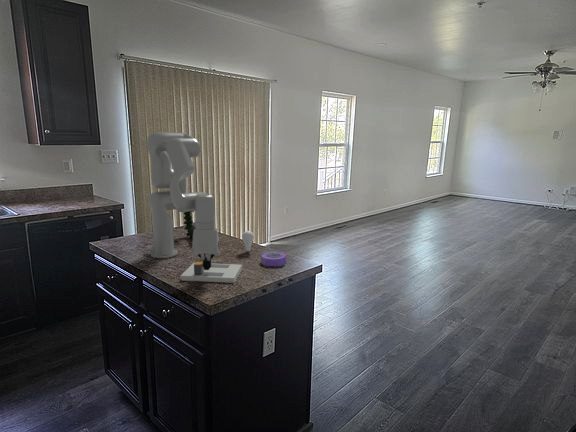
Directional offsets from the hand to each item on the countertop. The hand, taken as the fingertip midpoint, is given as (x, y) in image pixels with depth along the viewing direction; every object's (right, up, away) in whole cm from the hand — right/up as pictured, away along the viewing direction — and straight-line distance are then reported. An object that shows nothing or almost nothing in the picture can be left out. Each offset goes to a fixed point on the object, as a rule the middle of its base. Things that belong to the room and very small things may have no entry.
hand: (207, 269), depth 148 cm
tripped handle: (-4, -2, +1) cm, 4 cm away
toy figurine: (-18, +8, +58) cm, 61 cm away
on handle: (-2, 0, +10) cm, 11 cm away
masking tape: (+26, -1, +22) cm, 35 cm away
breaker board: (+1, -3, +6) cm, 7 cm away
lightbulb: (+13, +3, +38) cm, 40 cm away
